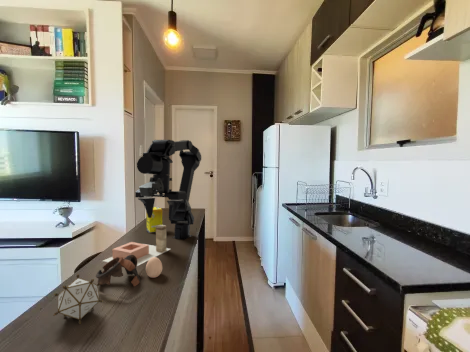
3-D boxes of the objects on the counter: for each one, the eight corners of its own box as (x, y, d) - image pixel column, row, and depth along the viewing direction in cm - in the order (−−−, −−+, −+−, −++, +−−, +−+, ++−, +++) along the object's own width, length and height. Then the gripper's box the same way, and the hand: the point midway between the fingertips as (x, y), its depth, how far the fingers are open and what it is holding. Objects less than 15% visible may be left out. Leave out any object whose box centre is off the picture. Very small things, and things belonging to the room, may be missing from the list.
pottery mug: (133, 296, 60) (114, 270, 58) (103, 308, 61) (83, 284, 59) (152, 264, 71) (136, 242, 69) (126, 275, 73) (110, 254, 71)
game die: (75, 330, 52) (73, 282, 57) (113, 314, 53) (108, 268, 57) (40, 336, 44) (41, 279, 49) (86, 317, 45) (83, 263, 49)
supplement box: (146, 231, 114) (145, 207, 113) (159, 229, 117) (158, 206, 116) (149, 234, 109) (149, 210, 108) (162, 232, 112) (162, 208, 111)
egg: (142, 280, 67) (142, 260, 66) (150, 273, 71) (150, 254, 71) (158, 281, 66) (157, 261, 66) (165, 274, 70) (164, 254, 70)
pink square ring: (131, 250, 88) (131, 241, 88) (148, 253, 85) (148, 245, 84) (112, 258, 80) (112, 249, 80) (130, 262, 77) (130, 252, 77)
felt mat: (143, 245, 95) (143, 243, 95) (171, 250, 89) (171, 248, 89) (102, 262, 78) (102, 260, 78) (132, 269, 73) (132, 268, 73)
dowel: (160, 248, 89) (160, 224, 89) (166, 250, 88) (166, 225, 88) (155, 251, 87) (155, 226, 86) (161, 252, 86) (161, 227, 85)
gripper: (123, 173, 83) (121, 219, 83) (167, 174, 76) (166, 224, 75) (147, 174, 93) (145, 215, 93) (188, 175, 86) (187, 220, 85)
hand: (159, 218), depth 86 cm, fingers open, 9 cm apart
